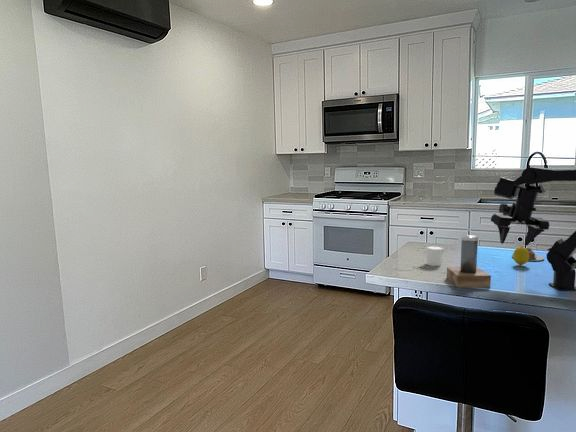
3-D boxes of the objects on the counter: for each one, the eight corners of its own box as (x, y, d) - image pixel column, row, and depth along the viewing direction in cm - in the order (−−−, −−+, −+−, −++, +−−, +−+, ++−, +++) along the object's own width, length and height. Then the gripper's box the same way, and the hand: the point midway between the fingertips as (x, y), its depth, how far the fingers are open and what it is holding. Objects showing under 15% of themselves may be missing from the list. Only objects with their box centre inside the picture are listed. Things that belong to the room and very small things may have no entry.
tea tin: (479, 271, 147) (481, 236, 145) (470, 274, 144) (472, 238, 143) (466, 268, 152) (467, 234, 150) (457, 271, 149) (458, 236, 147)
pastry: (518, 254, 188) (518, 244, 188) (548, 259, 179) (549, 248, 179) (507, 259, 180) (508, 248, 180) (538, 264, 171) (539, 253, 171)
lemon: (530, 267, 165) (531, 247, 164) (515, 267, 166) (516, 247, 165) (525, 264, 171) (526, 244, 169) (510, 263, 172) (511, 244, 171)
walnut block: (490, 286, 143) (490, 275, 142) (457, 287, 143) (458, 276, 143) (477, 277, 154) (477, 266, 153) (446, 277, 154) (447, 267, 154)
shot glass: (424, 265, 172) (424, 248, 171) (427, 261, 178) (427, 245, 177) (441, 267, 169) (442, 250, 168) (444, 263, 175) (444, 246, 174)
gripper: (535, 198, 155) (524, 238, 159) (488, 194, 153) (477, 234, 158) (556, 207, 144) (543, 249, 149) (505, 202, 142) (494, 245, 147)
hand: (513, 244), depth 151 cm, fingers open, 9 cm apart
